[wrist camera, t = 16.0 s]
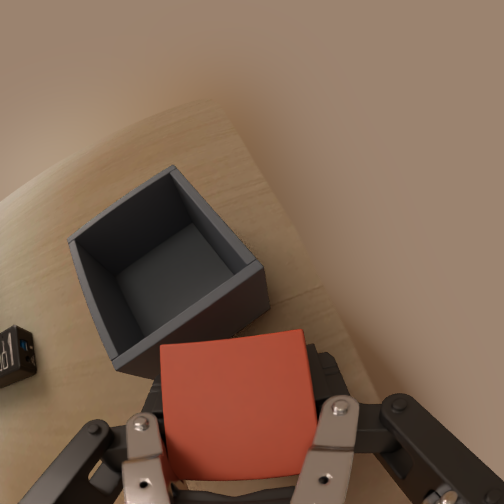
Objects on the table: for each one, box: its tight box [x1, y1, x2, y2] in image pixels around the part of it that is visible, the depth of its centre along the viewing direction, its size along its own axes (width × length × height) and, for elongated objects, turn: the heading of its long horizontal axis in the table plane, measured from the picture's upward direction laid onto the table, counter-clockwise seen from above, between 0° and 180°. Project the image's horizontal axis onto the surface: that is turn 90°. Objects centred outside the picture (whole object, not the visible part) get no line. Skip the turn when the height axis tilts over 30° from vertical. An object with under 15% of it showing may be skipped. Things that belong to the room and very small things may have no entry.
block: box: [160, 329, 318, 481], centre depth 12 cm, size 5×5×9 cm
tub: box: [67, 165, 270, 380], centre depth 18 cm, size 10×9×6 cm
